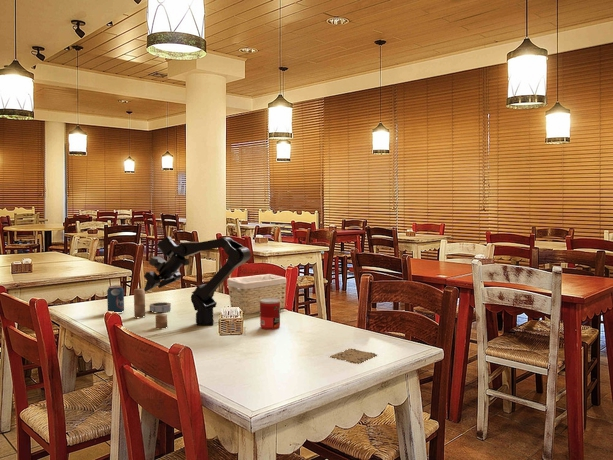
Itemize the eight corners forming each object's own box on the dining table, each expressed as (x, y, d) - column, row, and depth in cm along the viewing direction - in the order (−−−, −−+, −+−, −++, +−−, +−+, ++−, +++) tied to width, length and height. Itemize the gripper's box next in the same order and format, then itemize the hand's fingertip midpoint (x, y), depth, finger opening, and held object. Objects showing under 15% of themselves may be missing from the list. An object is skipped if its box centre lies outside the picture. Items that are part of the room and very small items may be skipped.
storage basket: (243, 315, 230) (243, 282, 229) (226, 309, 243) (225, 277, 242) (288, 308, 244) (288, 277, 243) (269, 303, 257) (269, 273, 257)
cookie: (348, 349, 181) (348, 346, 181) (379, 356, 173) (379, 353, 173) (327, 358, 172) (327, 355, 172) (358, 365, 164) (358, 362, 164)
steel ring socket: (171, 308, 245) (171, 302, 244) (169, 312, 236) (168, 306, 236) (151, 309, 243) (151, 302, 243) (148, 313, 235) (148, 306, 234)
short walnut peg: (168, 326, 212) (167, 313, 212) (166, 328, 208) (166, 316, 207) (156, 326, 211) (156, 314, 211) (154, 329, 207) (154, 316, 207)
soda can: (120, 314, 232) (120, 287, 231) (105, 314, 232) (104, 287, 231) (126, 311, 239) (125, 285, 238) (111, 311, 239) (110, 285, 238)
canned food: (277, 330, 205) (277, 302, 205) (257, 329, 207) (257, 301, 206) (282, 325, 213) (282, 298, 212) (263, 324, 215) (263, 297, 214)
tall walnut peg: (146, 315, 230) (145, 288, 230) (144, 317, 226) (143, 290, 225) (135, 315, 230) (134, 288, 229) (133, 318, 225) (132, 290, 225)
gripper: (175, 248, 230) (154, 272, 235) (147, 252, 213) (125, 278, 218) (190, 267, 228) (169, 290, 233) (163, 273, 210) (141, 298, 215)
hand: (151, 289), depth 225 cm, fingers open, 9 cm apart
